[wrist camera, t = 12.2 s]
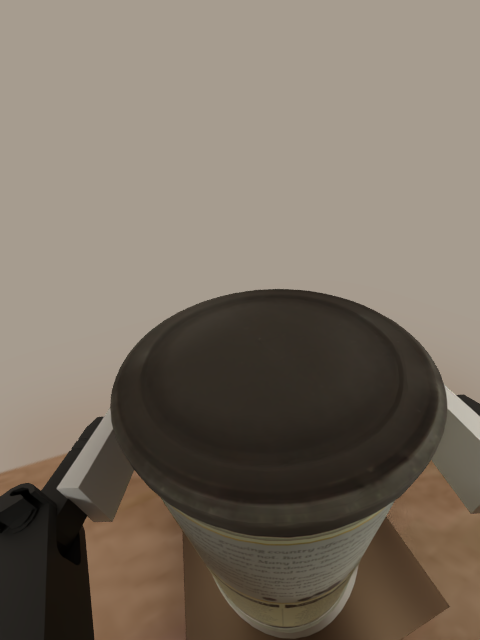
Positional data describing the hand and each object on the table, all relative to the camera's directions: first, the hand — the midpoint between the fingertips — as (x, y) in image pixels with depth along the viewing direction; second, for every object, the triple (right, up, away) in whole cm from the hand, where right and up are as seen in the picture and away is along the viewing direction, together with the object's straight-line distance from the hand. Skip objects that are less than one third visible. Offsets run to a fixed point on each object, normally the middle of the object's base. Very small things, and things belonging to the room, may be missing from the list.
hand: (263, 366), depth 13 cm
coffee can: (+1, -10, +2) cm, 10 cm away
